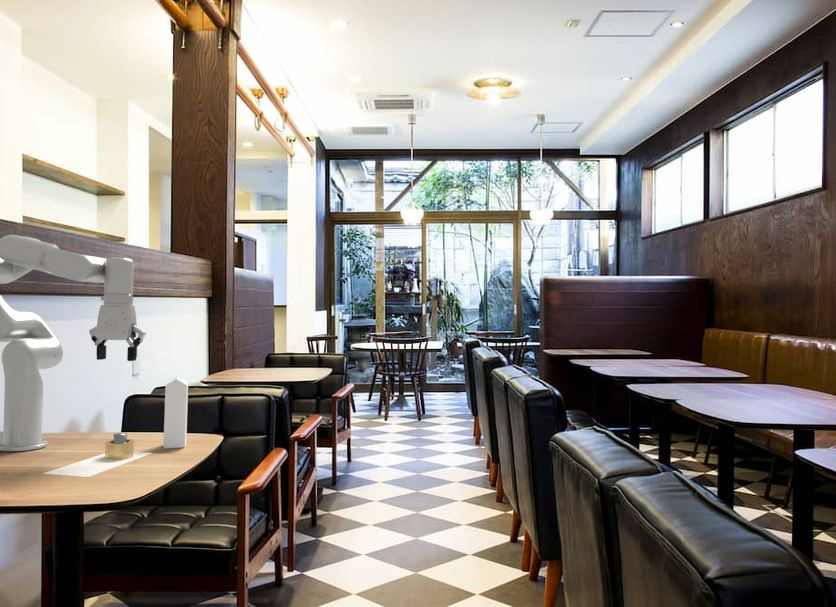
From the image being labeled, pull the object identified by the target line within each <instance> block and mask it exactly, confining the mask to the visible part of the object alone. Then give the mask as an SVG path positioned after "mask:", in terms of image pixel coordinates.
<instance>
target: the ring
mask: <svg viewBox="0 0 836 607" xmlns="http://www.w3.org/2000/svg"><path fill="white" fill-rule="evenodd" d="M113 441H114V439H110V440H106V441H105V444H104V445H105V446H104V448H105V449H104V453H105V458H107V459H126V458H130V457H133V455H134V452H135V451H134V450H135V439H132V438H127V442H126V443H113Z"/></svg>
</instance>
